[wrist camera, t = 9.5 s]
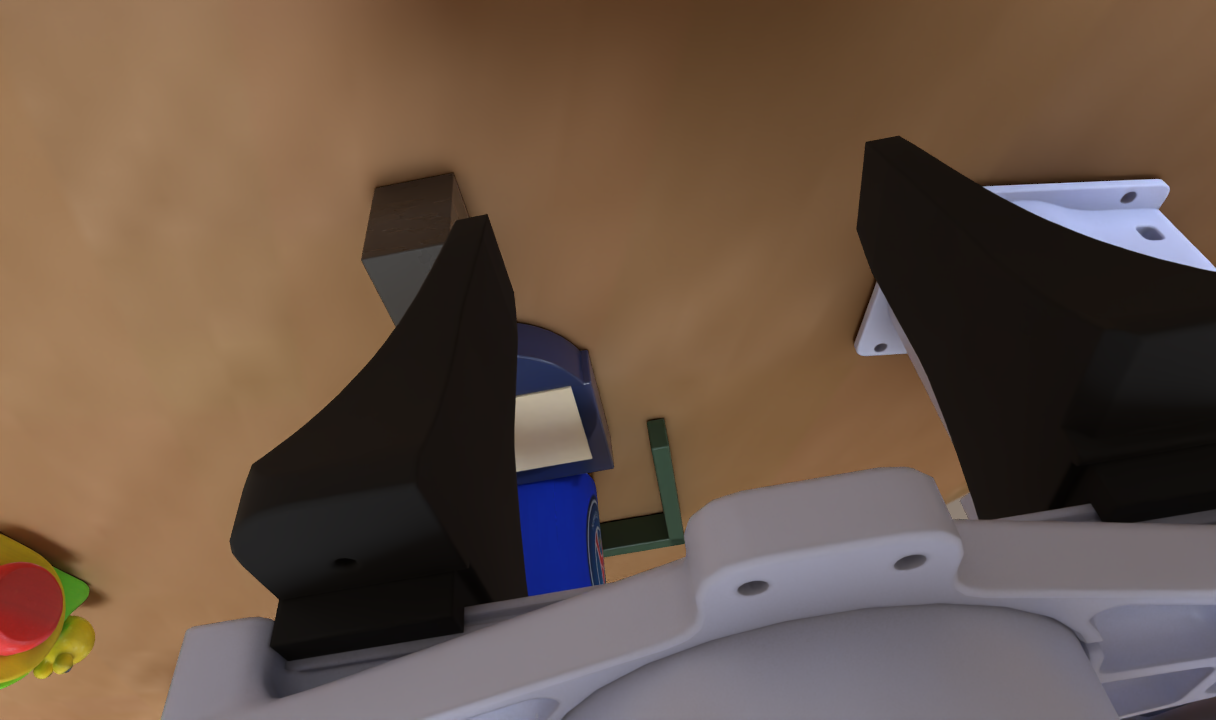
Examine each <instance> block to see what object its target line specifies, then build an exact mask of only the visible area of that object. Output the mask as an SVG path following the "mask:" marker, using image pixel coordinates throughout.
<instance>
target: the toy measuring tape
mask: <svg viewBox="0 0 1216 720" xmlns="http://www.w3.org/2000/svg"><path fill="white" fill-rule="evenodd" d="M88 595H89V587H88V586H87V584H86V583H84V582H83V581H81V580H79V579H77V578H75V577H73V576H71V575H69V574H67V573H65V572H63V571H61V570H59V569H57V568H55V567H53V566H51V565H50V563H49V562H48V561H47V560H46V559H44V558H43V557H42V556H41V555H39V554H38V553H36V552H35V551H33V550H31V549H29V548H27V547H26V546H24V545H22V544H20V543H18V542H16V541H14V540H12V539H11V538H9V537H7V536H5V535H3V534H1V533H0V689H2V688H5V687H7V686H9V685H11V684H13V683H15V682H17V681H19V680H20V679H22V678H23V677H25V676H26V675H27V674H28V673H30V672H31V671H32V670H33V669H34V671H33V673H34V676H35V677H36V678H38V679H44V678H47V677H49V676H50V675H51V674H52V672H53V670H54V672H55V673H57V674H64V673H67V672H69V671H70V669H71V668H72V666H73V664H76V663H78V662H80V661H81V660H83V659H84V658H85V657H86V656H87V655H88V654H89V653H90V651H91V650H92V648H93V646H94V642H95V632H94V629H93V627H92V626H91V624H90V623H89V622H88V621H87V620H85V619H83V618H81V617H78V616H70V614H71V613H72V612H73V611H74V610H75V609H76V608H77V607H79V606H80V605H81V604H82V603H83V602H84V601H85V600H86V599H87V597H88Z"/></svg>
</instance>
